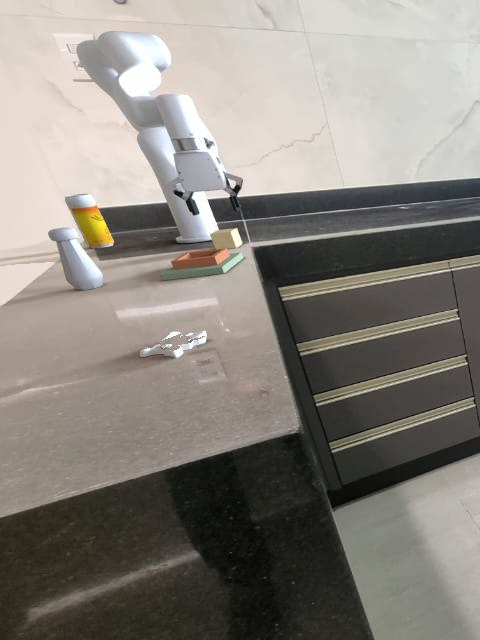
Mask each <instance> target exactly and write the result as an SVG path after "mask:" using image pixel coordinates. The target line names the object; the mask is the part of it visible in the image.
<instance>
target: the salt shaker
mask: <svg viewBox="0 0 480 640" xmlns="http://www.w3.org/2000/svg"><path fill="white" fill-rule="evenodd" d="M47 235H48V237H49V239H50V241H52V242H56V247H57V250H58V254H59V258H60V262H61V266H62V270H63V273H64V277H65V280H66V282H67V283H68V284H69V285H71V286H72V287H73V288H74V289H75V290H76V291H87V290H93V289H97V288H100V287H102V286H103V279H104V278H103V277H104V275H103V273H102V271H101V270H100V268H99V267H98V266H97V265H96V263H95V262H94V260H92V258H91V257H90V256H89V254H87V252H86V250H85V249H84V248H83V247H82V245H81V244H80V243H79V241H78V240H77V239H78V238H79V233H78V231H76V229H75V228H73V227H67V226H66V227H58V228H53V229H50V230H49V231H48V232H47Z"/></svg>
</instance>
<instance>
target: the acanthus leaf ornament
mask: <svg viewBox="0 0 480 640" xmlns="http://www.w3.org/2000/svg"><path fill="white" fill-rule="evenodd" d="M180 333H181V331H180V332H179V331H170V332H168V333H167V334H165V336H164V337H163V338H162V339H161V340H162V341H163V340H165V339H168V338H171V337H173V336H176V335H178V334H180ZM184 335H185V336H190V337H192V338H190V339H188V341H190V340H191V339H194V338H200V337H202V336H205V337H203V338H201V339H198V340H193V341H192V342H191V343H188V344H182V345H178V346H180V348H179V349H177V350H174V351H172V350H170V351H168V350H165V351H163V350H162V349H161V348H156V347H159V346H161V345H160V344H158V343H157V344H158V345H157V344H155V345H153V346H152V347H146V348H147V349H144V350H142V349H143V348H141V349H140V350H139V357H140V358H146V357H150V356H154V355H163V356H164V357H171V358H174V359H177V358H179V357H181V356H182V355H183V354H184V351H187V350H191V349H192V348H193V347H196V346H199V345H203V344H205V343H206V342H207V332H206V330H201V331H196V332H194V333H193V332H189V333H186V334H184ZM181 336H183V334H182V335H181ZM181 336H180V337H181ZM171 346H172V344H165V345H162V346H161V347H162V348H163V349H164V348H165V347H167V348H170V347H171Z"/></svg>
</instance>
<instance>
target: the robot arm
mask: <svg viewBox="0 0 480 640" xmlns="http://www.w3.org/2000/svg"><path fill="white" fill-rule="evenodd" d="M76 56H77V58H78V61H79V62H80V65H81V66H82V68H83V70H84V71H85V73H86V74H87V75H88V76H89V78H90V80H92V81H93V82H94V83H95V85H97V86H98V87H99V88H100V89H101V90H102V91H103V92H105V94H106V95H108V96H109V97H110V98H111V99H112V100H113V101H114V103H115V104H116V105H117V107H118V109H119V110H120V111H121V113H122V115H123V116H124V117H125V119H126V120H127V121H128V123H129V124H130V126H131V127H132V128H133V129H134V130H135V131H137V132H138V133H137V135H136V142H137V144H138V147H139V148H140V151H141V152H142V154H143V155H144V157H145V159H146V160H147V162H148V163H149V165H150V167H151V169H152V171H153V173H154V175H155V177H156V180H157V183H158V184H159V187H160V189H161V192H162V193H163V196H164V199H165V200H166V201H165V202H166V203H167V206H168V208H169V211H170V212H171V215H172V218H173V220H174V223H175V225H176V226H177V229H178V232H179V234H180V236H177V237H176V238H175V241H176V243H178V244H193V243H203V242H207V241H208V242H209V241H212V239H211V236H210V234H211V233H213V232H214V231H216V230H220V229H219V226H218V222H216V219H215V217H214V214H213V211H212V208H211V207H210V204H209V201H208V198H207V195H206V193H205V192H213V191H214V192H215V191H223V192H225V193H227V195H228V194H229V197H228V198H229V201H230V204H231V206H232V209H233V211H234V212H239V211H240V210H241V208H242V205H241V204H242V203H241V202H240V199H239V197H238V195H239V193H240V191H241V190H242V189H243V183H244V178H243V177H241V176H239V175H235V174H231V173H229V172H227V170H226V169H225V167H224V164H223V163H222V160H221V158H220V157H219V155H218V153H219V150H218V145H217V143H216V141H215V138H214V137H213V135H212V134H211V133H210V131H209V129H208V128H207V127H206V125H205V124H204V122H203V121H202V120H201V118H200V117H199V115H198V112H197V110H196V107H195V105H194V101H193V100H192V98H191V97H190V96H189V95H187V94H183V93H161V94H157V95H150V93H151V92H153V91H155V90H156V89H157V88H158V87H159V86H160V85H161V83H162V75H161V74H162V72H164V71H167V69H168V68H169V67H170V66H171V65H172V56H171V52H170V50H169V48H168V47H167V45H166V44H165V42H164V41H163V40H162V39H161V38H160V37H159V36H157V35H155V34H153V33H150V32H138V31H122V30H109V31H104V32H102V33H101V34H100V35H98V37H97V39H87V40H84V41H82V42H79V43H78V44H76ZM231 181H234V183H235V185H234V187H232V184H231V183H232V182H231Z"/></svg>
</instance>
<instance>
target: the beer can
mask: <svg viewBox="0 0 480 640" xmlns="http://www.w3.org/2000/svg"><path fill="white" fill-rule="evenodd" d="M64 202H65V204H66V206H67V208H68V210H69V212H70V214H71V216H72V218H73V221H74V223H75V224H76V226H77V228H78V231H79V232H80V234H81V236H82V239H83V241H84V243H85V245H86V246H87V247H89V248H90V249H102V248H108V247H112V246H114V244H115V240H114V238H113V236H112V234H111V231H110V230H109V228H108V225H107V223H106V221H105V218H104V217H103V215H102V213H101V211H100V208H99V206H98V204H97V202H96V200H95V198H94V197H93V196H92V195H91V193H77V194H69V195H64Z"/></svg>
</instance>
